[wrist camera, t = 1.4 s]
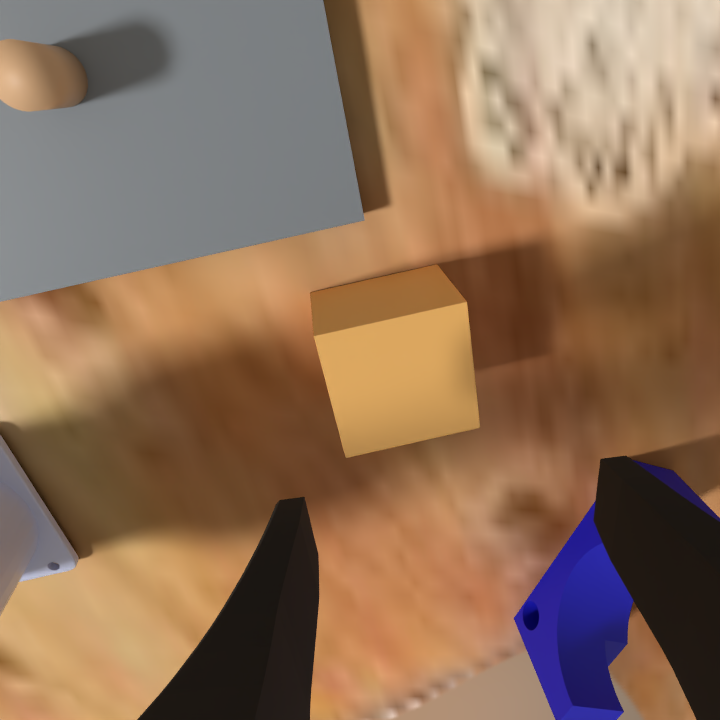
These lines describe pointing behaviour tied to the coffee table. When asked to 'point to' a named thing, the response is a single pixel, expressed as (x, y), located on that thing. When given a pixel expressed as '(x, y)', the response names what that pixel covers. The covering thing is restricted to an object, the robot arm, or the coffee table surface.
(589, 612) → the cable clip
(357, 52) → the coffee table surface
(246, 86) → the plate
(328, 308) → the cardboard carton
